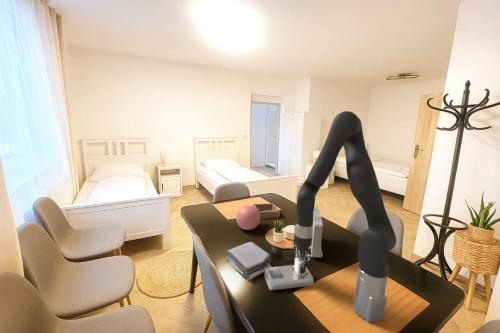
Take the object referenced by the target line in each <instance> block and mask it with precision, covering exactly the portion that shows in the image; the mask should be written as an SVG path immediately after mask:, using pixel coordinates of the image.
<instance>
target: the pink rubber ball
mask: <svg viewBox="0 0 500 333" xmlns="http://www.w3.org/2000/svg"><path fill="white" fill-rule="evenodd" d="M259 210H260V209H257V208H255V207H253V205H249V204H247V205H243V206H240V208H239V209H238V210H237V212H236V214H235V220H236V224H237V225H238V226H239V227H240V228H241V229H242V230H246V231H250V230H251V231H252V230H254V229H255V228H257V226H258V225H260V222H261V219H260V214H259V212H260V211H261V210H260V211H259Z"/></svg>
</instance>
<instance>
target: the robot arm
mask: <svg viewBox="0 0 500 333" xmlns="http://www.w3.org/2000/svg"><path fill="white" fill-rule="evenodd" d="M363 130H364V129H363V123H362V120H361V118H359V116H358V115H357V114H356V113H354V112H352V111H349V110H346V111H341V112H340V113H338V114H337V115H336V116H335V117H333V120H332V123H331V125H330V129H329V132H328V135H327V137H326V139H325V142H324V144H323V146H322V149H321V151H320V152H319V154H318V157H317V158H316V160H315V162H314V164H313V165H312V167H311V169H310V171H309V173H308V174H307V177H306V178H305V180H304V182H303V184H302V185H301V186H300V189H299V190H298V193H297V195H296V196H297V197H296V216H295V224H294V231H293V232H294V233H293V255H295V257H294V258H299V260H300V263H301V265H300V273H301V274H303V273H305V271H306V267H307V268H310V265H311V262H312V256H309V255H310V254H309V249H308V248H309V247H310V246H311V245H312V235H313V217H314V216H313V211H314V207H315V202H316V197H317V194H318V192H319V191H320V188H321V187H323V186H324V184H325V183H326V181H327V179H328V178H329V176H330V175H331V172H332V171H333V169H334V166H335V164H336V161H337V158H338V156H339V154H340V152H341V150H342V149H344V153H345V168H346V175H347V180H348V184H349V189H350V190H351V191H350V192H351V193H352V195H353V197H354V198H355V200H356V201H357V203H358V205H360V206H361V208H362V210H363V212H364V215H365V217H366V221H367V225H368V228H367V229H366V230H363V231H362V233H361V234H360V236H359V241H358V248H357V249H358V251H357V252H358V253H357V260H358V270H357V277H356V282H355V288H354V289H355V290H354V297H353V310H354V312H355V313H356V315H358V316H359V317H360V318H363V320H365V321H367V323H372V322H377V321H378V322H379V321H383V320H384V315H385V309H386V303H387V296H386V295H385V294H386V287H387V281H388V276H389V270H390V269H389V266H388V264H387V261H388V260H387V259H388V254H389V252H391V251H392V250H393V249H394V248H395V246H396V244H397V237H396V233H395V230H394V227H393V226H392V223H391V221H390V218H389V215H388V213H387V210H386V207H385V203H384V199H383V196H382V192H381V189H380V185H379V184H380V183H379V180H378V178H377V175H376V171H375V168H374V165H373V162H372V159H371V158H370V157H371V156H370V155H369V152H368V150H367V147H366V143H365V139H364V138H365V137H364V133H363V132H364V131H363ZM308 254H309V255H308ZM301 257H304V258H301ZM303 261H304V262H303Z"/></svg>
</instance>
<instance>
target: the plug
mask: <svg viewBox="0 0 500 333" xmlns="http://www.w3.org/2000/svg"><path fill="white" fill-rule="evenodd" d="M301 258H305V257H301ZM303 262H304V261H303ZM293 265H294V273H295V274H296V276H304V275H306V273H307V269H308V267H306V271H305V273H303V274H301V273H300V265H301V263H300V260H299V258H296V257H294V264H293Z"/></svg>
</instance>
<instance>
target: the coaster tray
mask: <svg viewBox="0 0 500 333" xmlns="http://www.w3.org/2000/svg"><path fill="white" fill-rule="evenodd" d="M252 206H253V207H255V208H257V209H260V210H259V214H260V220H266V219H280V215H281V214H280V213H281V211H280V209H279V208H278V207H277V206H276V205H275V204H274V203H271V202H270V203H253V204H252Z"/></svg>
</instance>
